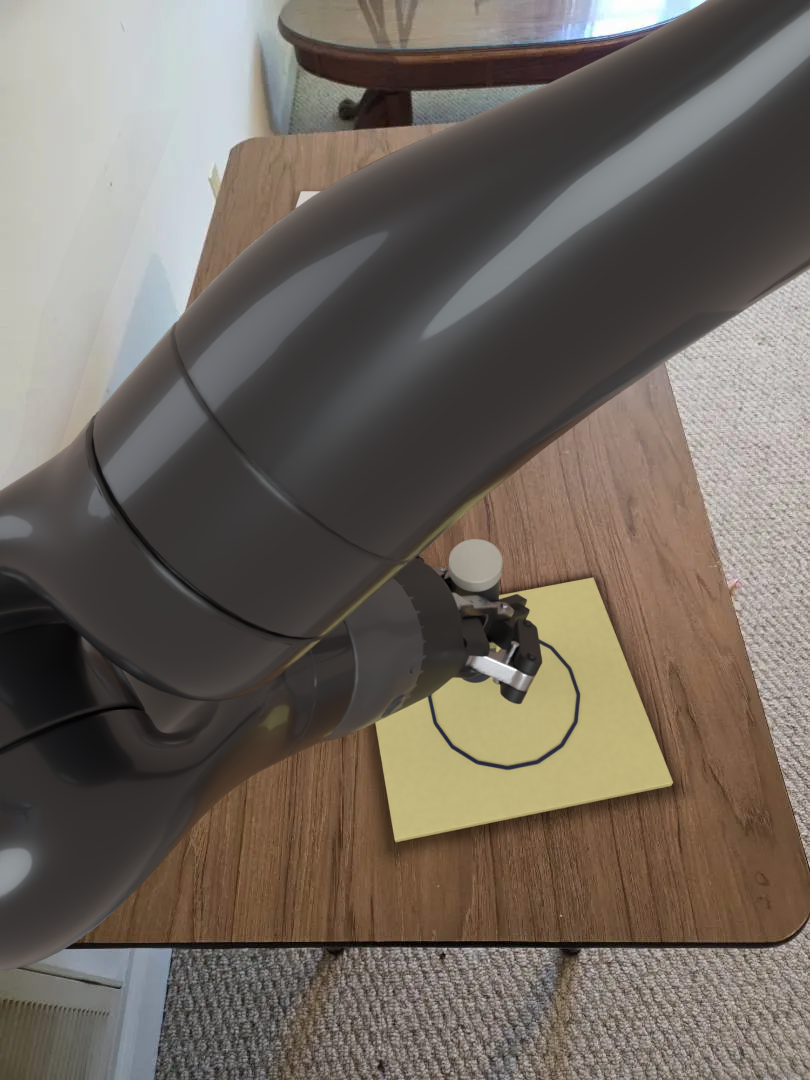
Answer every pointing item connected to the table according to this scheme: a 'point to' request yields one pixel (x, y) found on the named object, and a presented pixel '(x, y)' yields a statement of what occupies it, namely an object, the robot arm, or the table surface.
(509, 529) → the table surface
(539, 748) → the sketch pad
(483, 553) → the marker
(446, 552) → the table surface
